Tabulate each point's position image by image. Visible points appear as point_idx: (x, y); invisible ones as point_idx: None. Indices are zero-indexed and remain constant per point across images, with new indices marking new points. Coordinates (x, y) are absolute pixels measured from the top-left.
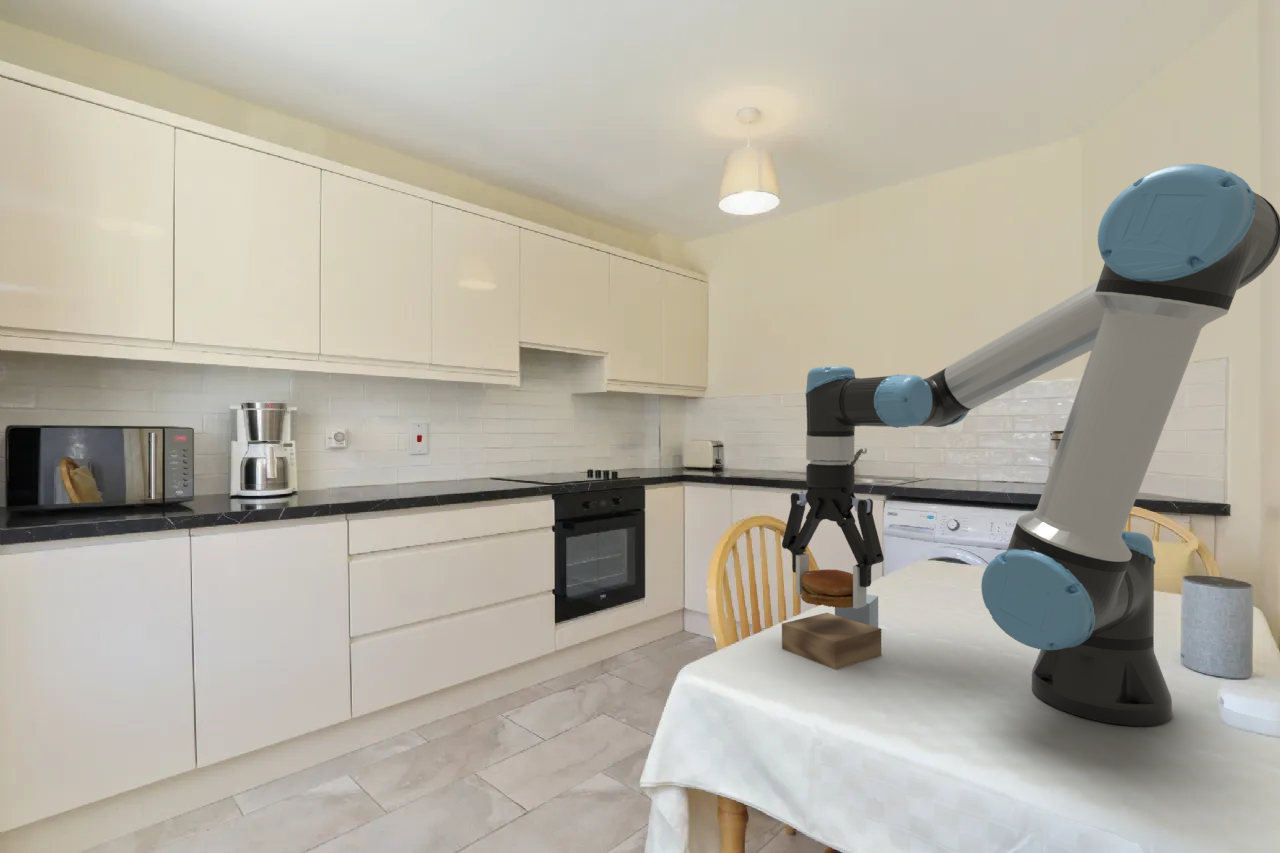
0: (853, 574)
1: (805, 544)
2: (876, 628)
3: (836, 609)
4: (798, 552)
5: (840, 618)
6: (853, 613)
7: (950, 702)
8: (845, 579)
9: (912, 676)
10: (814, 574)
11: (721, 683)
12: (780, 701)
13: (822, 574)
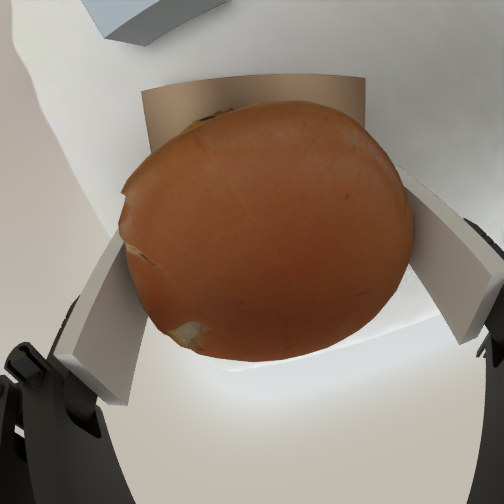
0: (443, 312)
1: (78, 433)
2: (355, 85)
3: (125, 37)
4: (95, 406)
5: (216, 95)
6: (177, 5)
7: (488, 185)
8: (387, 289)
9: (434, 137)
10: (225, 335)
11: (267, 361)
12: (346, 339)
13: (255, 319)
